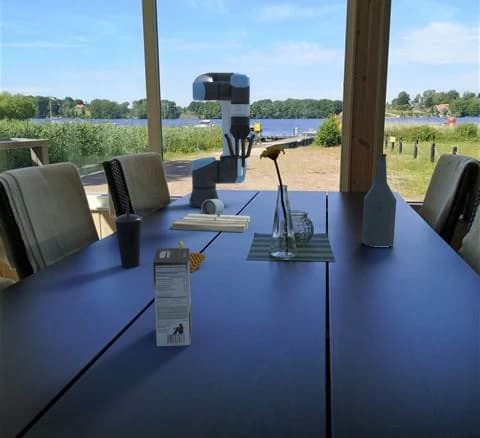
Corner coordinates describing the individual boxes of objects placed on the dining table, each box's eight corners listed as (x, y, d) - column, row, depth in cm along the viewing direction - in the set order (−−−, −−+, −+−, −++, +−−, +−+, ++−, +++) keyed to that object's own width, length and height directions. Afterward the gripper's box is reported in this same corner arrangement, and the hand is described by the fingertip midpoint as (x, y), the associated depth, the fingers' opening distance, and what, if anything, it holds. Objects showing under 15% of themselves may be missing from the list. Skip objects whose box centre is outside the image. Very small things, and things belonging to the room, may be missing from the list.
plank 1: (189, 218, 191) (189, 213, 190) (218, 219, 189) (217, 214, 188) (182, 223, 183) (182, 218, 182) (212, 224, 180) (212, 219, 180)
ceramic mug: (225, 214, 201) (225, 197, 199) (216, 218, 193) (215, 200, 192) (205, 213, 205) (204, 196, 204) (195, 216, 198) (194, 199, 197)
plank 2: (220, 219, 188) (220, 214, 188) (249, 220, 186) (249, 215, 185) (215, 225, 180) (215, 220, 180) (246, 226, 178) (245, 221, 177)
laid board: (180, 223, 183) (179, 218, 182) (248, 226, 177) (248, 221, 177) (172, 228, 174) (172, 223, 173) (243, 231, 168) (243, 226, 168)
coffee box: (159, 325, 91) (156, 247, 87) (192, 324, 91) (190, 246, 88) (155, 347, 82) (151, 261, 78) (191, 345, 82) (189, 260, 79)
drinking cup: (149, 262, 131) (146, 194, 127) (135, 270, 124) (131, 198, 120) (126, 260, 134) (122, 193, 130) (111, 268, 127) (106, 197, 123)
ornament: (208, 254, 122) (194, 231, 135) (171, 266, 120) (160, 241, 133) (212, 275, 126) (198, 250, 138) (176, 286, 123) (165, 260, 136)
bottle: (394, 249, 145) (401, 154, 139) (363, 247, 147) (367, 154, 141) (390, 241, 155) (396, 152, 149) (361, 239, 157) (365, 152, 150)
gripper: (221, 115, 176) (222, 176, 181) (254, 115, 173) (254, 177, 178) (226, 115, 183) (226, 173, 188) (258, 115, 180) (257, 174, 186)
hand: (240, 175), depth 183 cm, fingers closed
